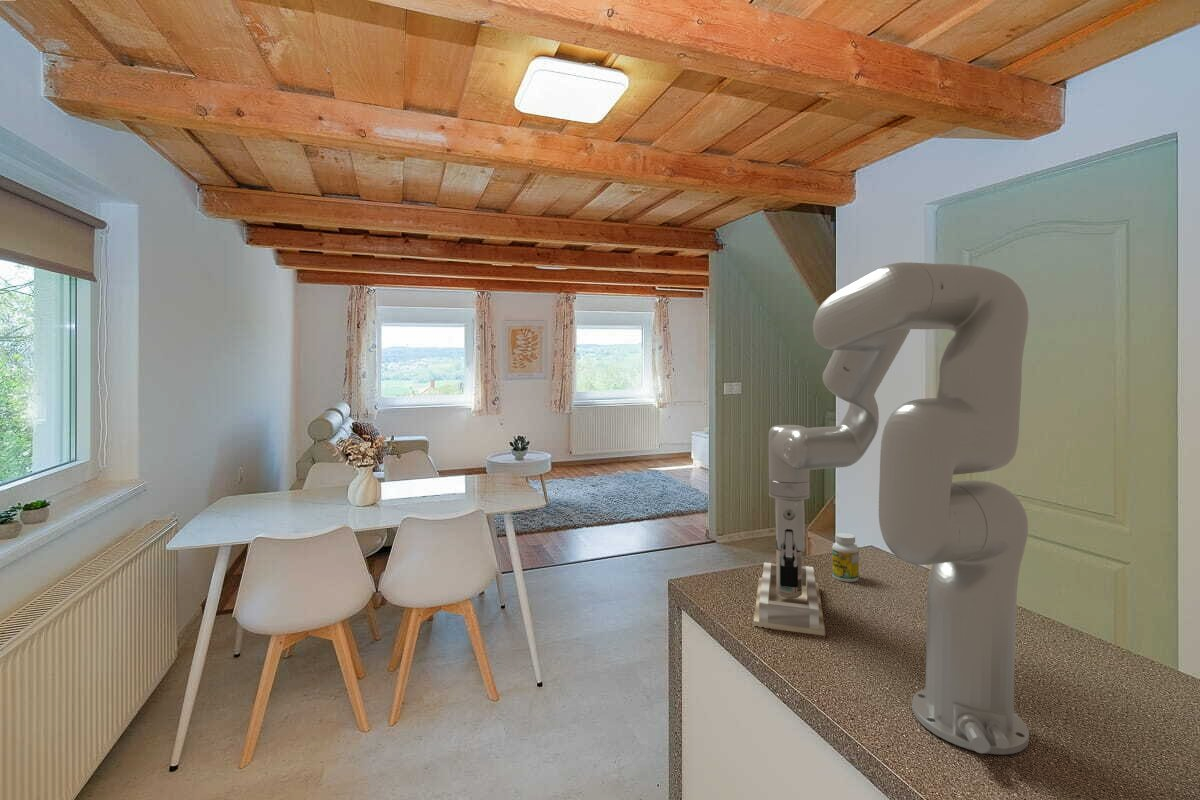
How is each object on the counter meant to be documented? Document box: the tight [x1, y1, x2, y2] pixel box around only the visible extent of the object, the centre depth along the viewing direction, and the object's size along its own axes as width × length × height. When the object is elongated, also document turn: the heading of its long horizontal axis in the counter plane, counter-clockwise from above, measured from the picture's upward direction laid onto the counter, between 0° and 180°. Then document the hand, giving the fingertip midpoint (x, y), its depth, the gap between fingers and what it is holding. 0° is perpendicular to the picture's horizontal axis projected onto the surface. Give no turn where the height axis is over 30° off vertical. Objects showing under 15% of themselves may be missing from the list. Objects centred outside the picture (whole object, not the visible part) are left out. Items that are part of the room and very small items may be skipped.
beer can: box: [775, 531, 803, 598], centre depth 107 cm, size 5×5×12 cm
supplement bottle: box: [831, 532, 860, 583], centre depth 122 cm, size 5×5×10 cm
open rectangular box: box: [752, 562, 826, 637], centre depth 108 cm, size 22×12×4 cm, turn 161°
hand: (789, 580), depth 107 cm, fingers closed on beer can, 4 cm apart
